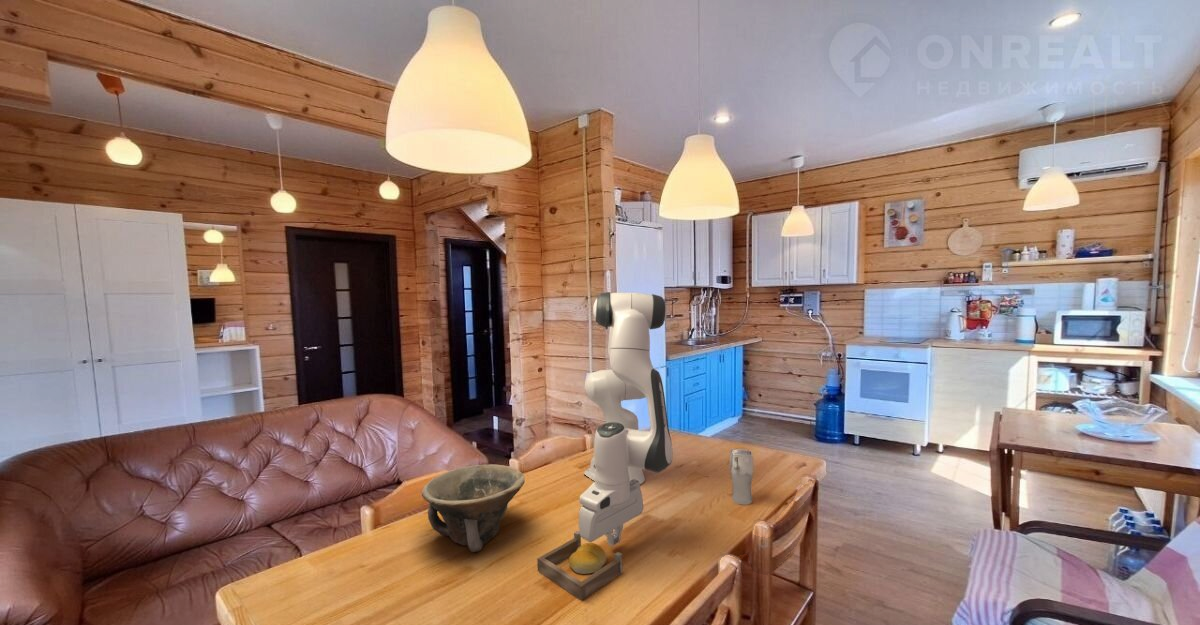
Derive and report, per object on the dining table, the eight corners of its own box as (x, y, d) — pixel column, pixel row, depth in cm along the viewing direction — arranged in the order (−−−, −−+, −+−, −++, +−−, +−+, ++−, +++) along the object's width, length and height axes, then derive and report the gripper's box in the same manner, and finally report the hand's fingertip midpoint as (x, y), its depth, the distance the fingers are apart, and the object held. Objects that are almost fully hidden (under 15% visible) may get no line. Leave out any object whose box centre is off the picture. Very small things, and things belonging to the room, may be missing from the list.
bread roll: (563, 570, 103) (562, 553, 103) (582, 551, 111) (582, 535, 111) (593, 580, 99) (593, 562, 99) (611, 559, 107) (611, 543, 107)
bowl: (494, 501, 140) (492, 455, 139) (545, 530, 121) (543, 477, 121) (408, 535, 121) (406, 481, 121) (453, 575, 102) (450, 512, 102)
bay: (537, 570, 103) (536, 552, 103) (578, 547, 112) (577, 530, 112) (581, 600, 92) (580, 580, 92) (622, 572, 101) (621, 553, 101)
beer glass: (755, 506, 131) (754, 456, 131) (731, 504, 133) (730, 455, 132) (752, 496, 138) (751, 448, 138) (729, 494, 139) (728, 448, 139)
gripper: (630, 473, 120) (631, 523, 121) (574, 499, 106) (575, 555, 106) (648, 479, 116) (649, 531, 116) (592, 507, 101) (593, 566, 102)
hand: (613, 543), depth 111 cm, fingers closed
